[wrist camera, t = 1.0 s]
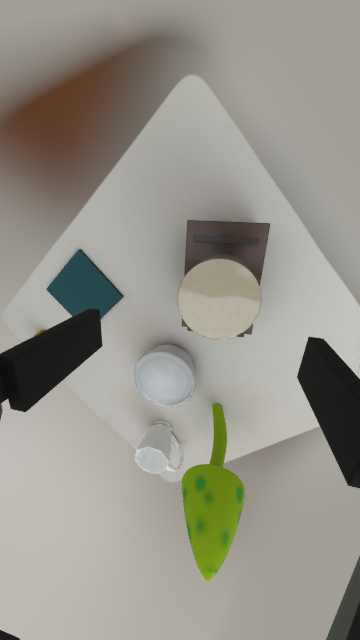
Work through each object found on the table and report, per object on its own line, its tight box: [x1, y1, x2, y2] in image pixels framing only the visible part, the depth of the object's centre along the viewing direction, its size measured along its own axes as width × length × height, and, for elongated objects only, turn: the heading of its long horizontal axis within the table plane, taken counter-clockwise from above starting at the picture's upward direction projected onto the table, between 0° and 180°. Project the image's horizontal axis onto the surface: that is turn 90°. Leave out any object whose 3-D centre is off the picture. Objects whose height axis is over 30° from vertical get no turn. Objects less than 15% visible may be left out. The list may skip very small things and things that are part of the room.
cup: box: [134, 420, 183, 474], centre depth 46 cm, size 7×10×8 cm
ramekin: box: [134, 344, 196, 406], centre depth 42 cm, size 11×11×5 cm
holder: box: [182, 220, 270, 337], centre depth 30 cm, size 13×9×15 cm
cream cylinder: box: [177, 252, 261, 339], centre depth 23 cm, size 7×7×10 cm
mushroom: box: [182, 403, 245, 581], centre depth 34 cm, size 8×8×25 cm
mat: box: [47, 249, 123, 319], centre depth 42 cm, size 11×11×1 cm
